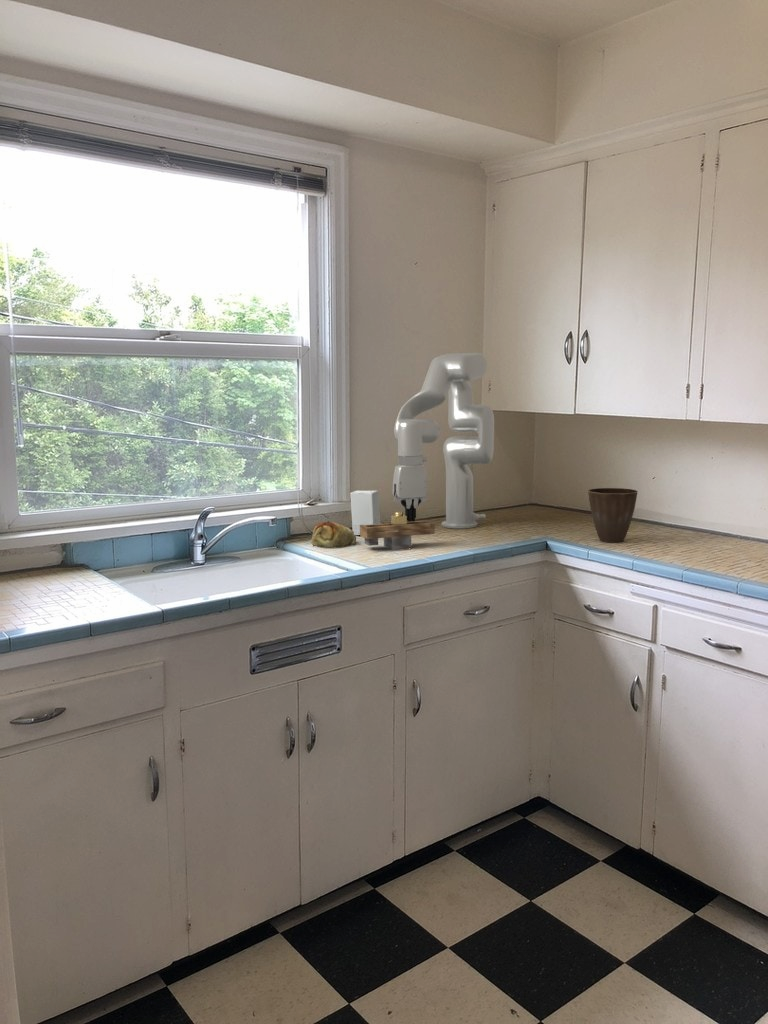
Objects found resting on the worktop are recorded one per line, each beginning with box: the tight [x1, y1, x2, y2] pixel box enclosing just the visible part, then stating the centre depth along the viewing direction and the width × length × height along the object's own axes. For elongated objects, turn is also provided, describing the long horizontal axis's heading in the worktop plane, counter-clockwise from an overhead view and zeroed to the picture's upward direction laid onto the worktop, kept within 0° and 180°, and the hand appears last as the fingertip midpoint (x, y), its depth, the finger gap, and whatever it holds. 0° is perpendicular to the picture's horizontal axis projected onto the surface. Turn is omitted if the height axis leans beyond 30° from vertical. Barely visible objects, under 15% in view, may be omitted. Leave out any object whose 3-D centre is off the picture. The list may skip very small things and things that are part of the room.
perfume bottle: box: [390, 511, 408, 526], centre depth 249 cm, size 4×3×5 cm
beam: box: [359, 519, 436, 551], centre depth 250 cm, size 22×8×7 cm, turn 110°
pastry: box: [310, 520, 357, 549], centre depth 255 cm, size 14×12×8 cm
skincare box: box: [349, 489, 381, 535], centre depth 271 cm, size 8×6×15 cm
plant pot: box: [587, 487, 639, 544], centre depth 256 cm, size 15×15×16 cm
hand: (410, 520), depth 250 cm, fingers closed
